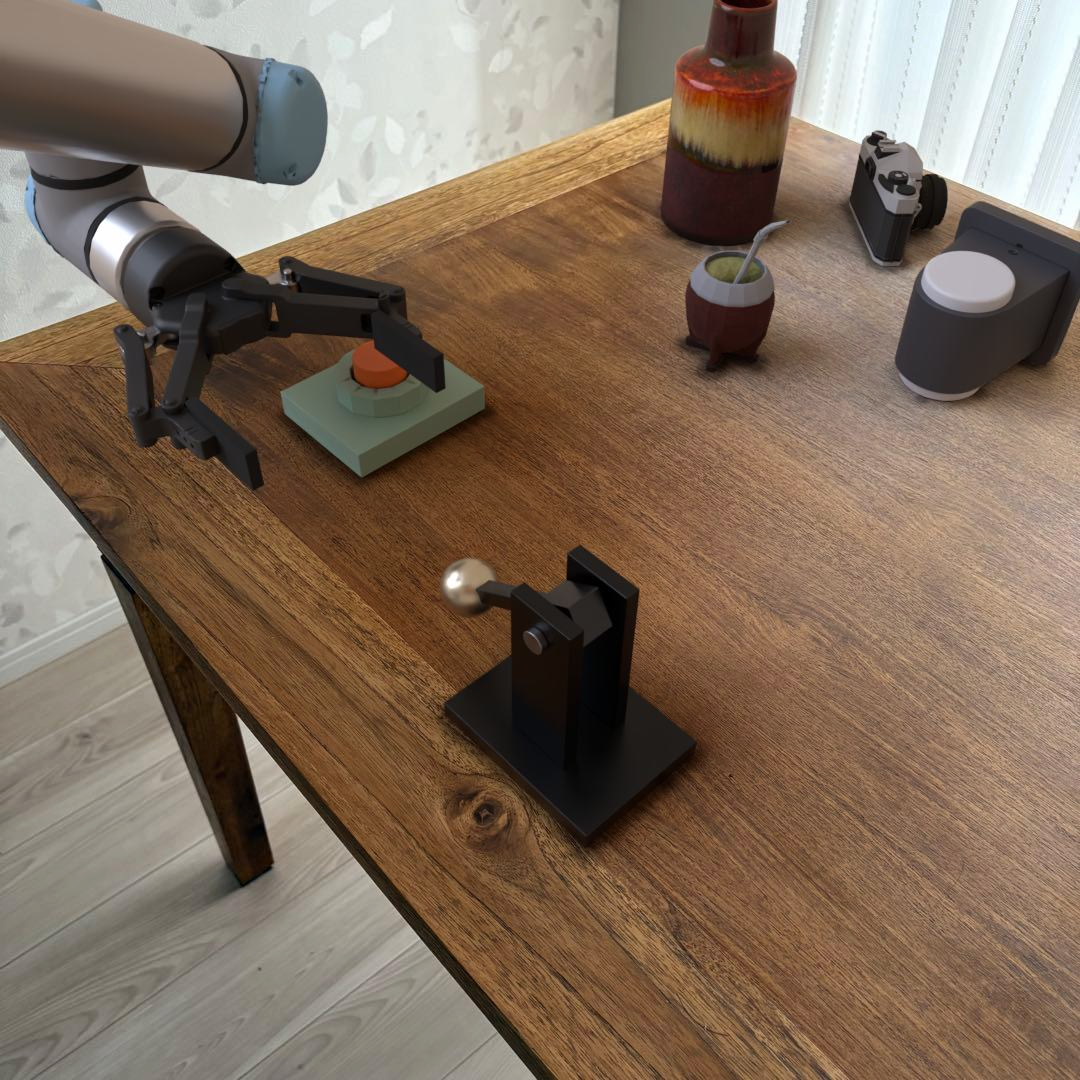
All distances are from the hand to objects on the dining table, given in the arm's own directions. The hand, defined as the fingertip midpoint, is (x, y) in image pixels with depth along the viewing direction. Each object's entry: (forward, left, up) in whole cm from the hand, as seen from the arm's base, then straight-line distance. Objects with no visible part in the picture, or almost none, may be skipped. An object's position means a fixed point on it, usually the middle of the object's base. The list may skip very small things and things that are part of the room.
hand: (352, 420), depth 67 cm
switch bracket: (+5, -18, -12) cm, 23 cm away
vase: (+47, +28, -13) cm, 56 cm away
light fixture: (+51, -1, -13) cm, 52 cm away
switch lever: (+4, -15, -6) cm, 16 cm away
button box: (+7, +15, -12) cm, 20 cm away
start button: (+7, +15, -9) cm, 18 cm away
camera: (+61, +18, -13) cm, 65 cm away
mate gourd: (+35, +9, -13) cm, 38 cm away
